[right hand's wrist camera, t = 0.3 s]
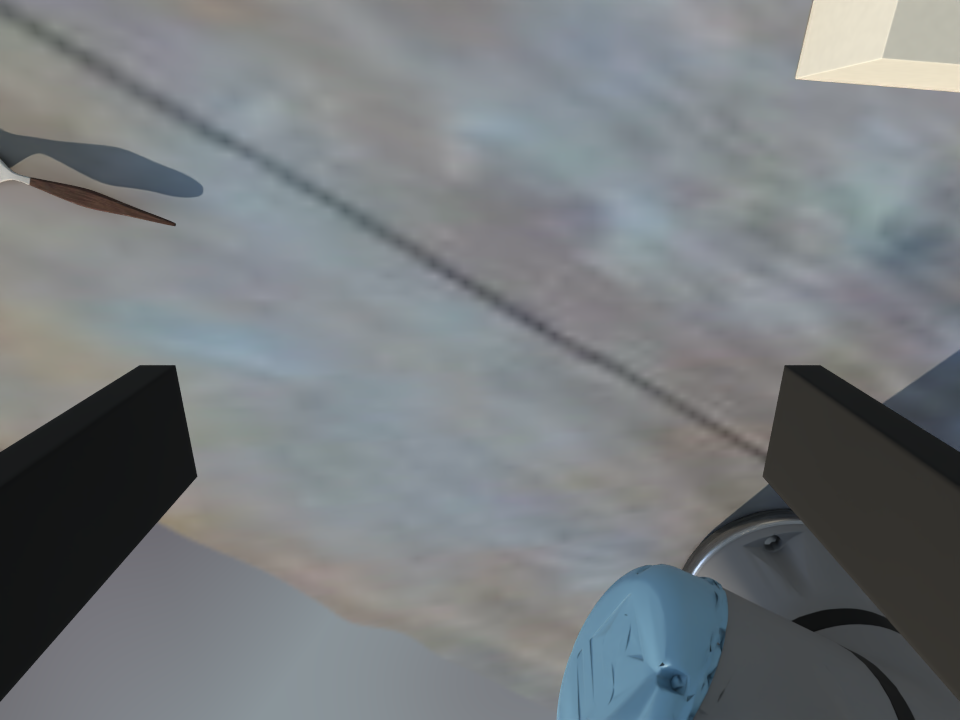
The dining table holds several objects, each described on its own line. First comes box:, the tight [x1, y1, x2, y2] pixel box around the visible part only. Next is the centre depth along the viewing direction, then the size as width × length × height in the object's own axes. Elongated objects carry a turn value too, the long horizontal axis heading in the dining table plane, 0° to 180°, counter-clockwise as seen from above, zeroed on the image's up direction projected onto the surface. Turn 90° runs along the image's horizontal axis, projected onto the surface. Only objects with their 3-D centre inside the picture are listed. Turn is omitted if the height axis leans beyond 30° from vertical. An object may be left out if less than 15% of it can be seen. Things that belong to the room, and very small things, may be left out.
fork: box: [0, 159, 176, 226], centre depth 36 cm, size 3×16×2 cm, turn 73°
